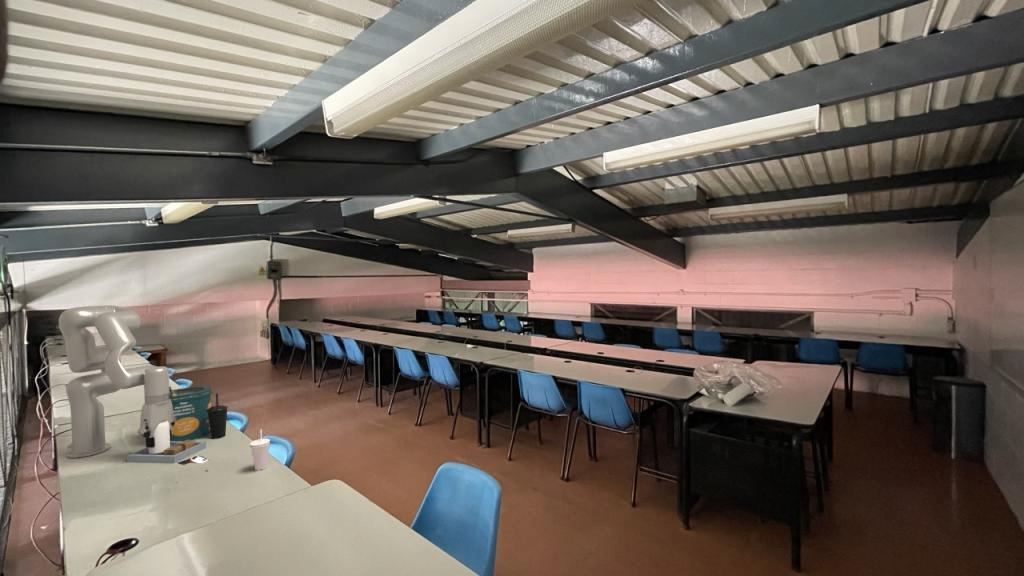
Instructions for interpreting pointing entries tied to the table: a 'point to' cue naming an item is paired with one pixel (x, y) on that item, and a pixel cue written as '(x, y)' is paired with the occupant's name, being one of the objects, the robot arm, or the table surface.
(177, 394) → the donation box
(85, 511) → the table surface
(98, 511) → the table surface
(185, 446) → the walnut block
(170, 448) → the walnut block
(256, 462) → the smoothie
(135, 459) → the tray
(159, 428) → the can
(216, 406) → the drinking cup
